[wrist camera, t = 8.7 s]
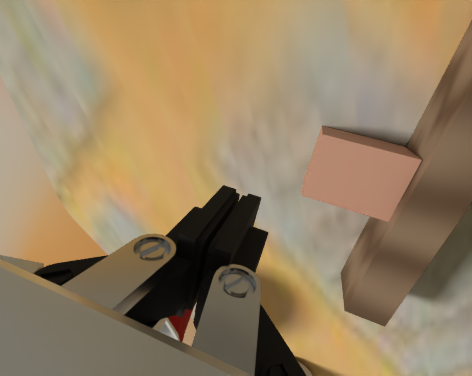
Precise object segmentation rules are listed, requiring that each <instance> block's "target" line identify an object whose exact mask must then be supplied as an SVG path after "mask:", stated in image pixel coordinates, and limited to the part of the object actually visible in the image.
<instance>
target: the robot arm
mask: <svg viewBox="0 0 472 376" xmlns="http://www.w3.org/2000/svg"><path fill="white" fill-rule="evenodd" d="M239 195H240V194H238V193H236V189H234V188H231V187H228V186H225V185H223V186H222V187H221V188H220V189H219V191H218V192H217V193H216V194H215V195H214V196H213V197H212V198H211V199H210V200H209V201H208V202H207V204H206V205H205V206H204V207H203V208H202V209H201V208H199V207H194V208H193V209H192V210H191V211H190V212H189V213H188V214H187V215H186V216H185V217H184V218H183V219H182V220H181V221H180V222H179V223H178V224H177V225H176V226H175V227H174V228H173V229H172V230H171V231H170V232H169V233H168V234H167V235H166V236H163V235H160V234H146V235H142V236H139V237H137V238H135V239H134V240H132V241H130V242H129V243H127V244H126V245H124V246H123V247H121V248H120V249H118V250H116V251H115V252H113V253H112V254H110V255H107V256H101V257H94V258H88V259H81V260H75V261H68V262H62V263H56V264H52V265H49V266H46V267H44V264H43V263H38V262H32V261H28V260H23V259H17V258H12V257H7V256H2V255H0V376H306V374H305V372H304V370H303V369H302V367H301V366H300V364H299V363H298V361H297V360H296V358H295V356H294V355H293V353H292V352H291V350H290V349H289V347H288V346H287V344H286V343H285V341H284V339H283V338H282V336H281V335H280V333H279V332H278V330H277V329H276V327H275V325H274V324H273V322H272V321H271V319H270V318H269V316H268V315H267V313H266V312H265V310H264V308H263V307H262V305H261V304H260V299H261V282H260V280H259V278H258V276H257V275H256V274H255V272H256V269H257V266H258V263H259V260H260V257H261V254H262V251H263V248H264V245H265V242H266V239H267V236H268V232H266V231H263V230H261V229H258V228H255V227H253V225H254V222H255V218H256V215H257V211H258V208H259V205H260V201H261V197H258V196H255V195H252V194H248V195H247V196H244V195H243V196H242V197H241V199H240V200H239ZM238 200H239V201H238ZM196 302H197V304H196ZM195 304H196V309H195V317H194V322H193V323H194V326H195V328H196V334H195V337H194V340H193V343H192V346H189V345H187V344H185V343H182V342H180V341H178V340H176V339H174V338H172V337H170V336H167V335H165V334H163V333H161V332H159V330H160V329H161V328H162V327H163V325H164V324H165V322H166V318H167V317H170V316H174V315H176V316H179V317H181V318H182V316H183V315H184V313H185V311H186V310H187V309H188V310H190V311H191V310H192V309H193V307H194V306H195Z"/></svg>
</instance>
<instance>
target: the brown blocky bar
mask: <svg viewBox="0 0 472 376" xmlns="http://www.w3.org/2000/svg"><path fill="white" fill-rule="evenodd" d="M406 148H407V149H409V150H410V151H411V152H412V153H414V154H415V155H416V156H417V157H419V158H420V159H421V160H422V161H421V163H420V165H419V166H418V168H417V170H416V172H415V174H414V176H413V178H412V179H411V181H410V183H409V185H408V187H407V189H406V191H405V192H404V194H403V196H402V198H401V200H400V202H399V204H398V205H397V207H396V209H395V211H394V213H393V215H392V217H391V218H390V220H389V222H387V221H384V220H380V219H377V218H374V217H370V218H369V219H368V221H367V223H366V225H365V227H364V229H363V231H362V233H361V235H360V237H359V239H358V241H357V243H356V245H355V246H354V248H353V250H352V252H351V254H350V256H349V258H348V260H347V262H346V264H345V266H344V268H343V270H342V271H341V279H342V289H343V299H344V309H345V311H347V312H349V313H352V314H354V315H357V316H359V317H362V318H364V319H367V320H370V321H372V322H375V323H377V324H380V325H382V326H386V324H387V323H388V321H389V320H390V318H391V317H392V316H393V314H394V313H395V311H396V310H397V309H398V307H399V306H400V304H401V303H402V301H403V300H404V299H405V297H406V296H407V294H408V293H409V291H410V290H411V289H412V287H413V286H414V284H415V283H416V282H417V280H418V279H419V277H420V276H421V274H422V273H423V272H424V270H425V269H426V267H427V266H428V264H429V263H430V262H431V260H432V259H433V257H434V256H435V254H436V253H437V252H438V250H439V249H440V247H441V246H442V245H443V243H444V242H445V240H446V239H447V237H448V236H449V235H450V233H451V232H452V230H453V229H454V227H455V226H456V225H457V223H458V222H459V220H460V219H461V218H462V216H463V215H464V213H465V212H466V210H467V209H468V208H469V206H470V205H471V203H472V21H471V23H470V25H469V27H468V29H467V31H466V33H465V35H464V37H463V39H462V40H461V42H460V44H459V46H458V48H457V50H456V52H455V54H454V56H453V58H452V60H451V62H450V64H449V65H448V67H447V69H446V71H445V73H444V75H443V77H442V79H441V81H440V83H439V85H438V87H437V89H436V90H435V92H434V94H433V96H432V98H431V100H430V102H429V104H428V106H427V108H426V110H425V112H424V114H423V116H422V117H421V119H420V121H419V123H418V125H417V127H416V129H415V131H414V133H413V135H412V137H411V139H410V141H409V142H408V144H407V146H406Z"/></svg>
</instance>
